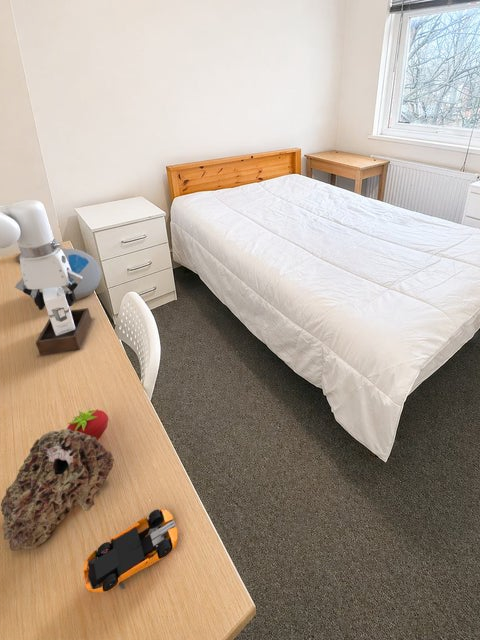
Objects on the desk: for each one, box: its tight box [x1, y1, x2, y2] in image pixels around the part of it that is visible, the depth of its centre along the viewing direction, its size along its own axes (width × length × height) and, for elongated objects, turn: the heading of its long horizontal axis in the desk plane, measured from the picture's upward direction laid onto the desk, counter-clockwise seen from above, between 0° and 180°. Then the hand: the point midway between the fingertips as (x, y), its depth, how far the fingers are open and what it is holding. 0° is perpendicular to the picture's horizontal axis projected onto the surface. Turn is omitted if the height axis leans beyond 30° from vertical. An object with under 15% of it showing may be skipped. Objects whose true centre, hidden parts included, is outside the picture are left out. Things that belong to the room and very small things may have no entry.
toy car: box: [82, 508, 178, 594], centre depth 56 cm, size 12×12×3 cm
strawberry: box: [66, 407, 109, 442], centre depth 71 cm, size 6×8×10 cm
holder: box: [35, 307, 92, 357], centre depth 102 cm, size 10×14×5 cm
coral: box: [0, 428, 115, 551], centre depth 62 cm, size 18×13×15 cm
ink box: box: [42, 287, 75, 336], centre depth 98 cm, size 9×5×12 cm, turn 38°
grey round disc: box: [61, 248, 102, 301], centre depth 120 cm, size 18×18×5 cm
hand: (57, 304), depth 98 cm, fingers closed on ink box, 6 cm apart
